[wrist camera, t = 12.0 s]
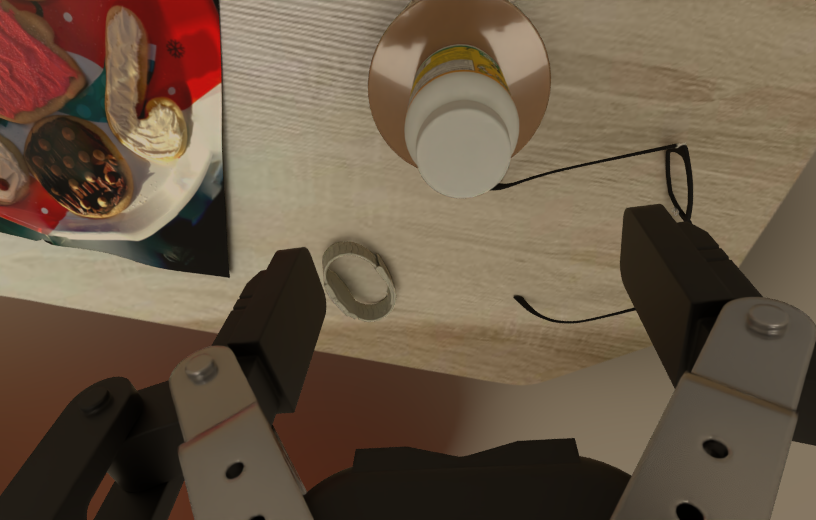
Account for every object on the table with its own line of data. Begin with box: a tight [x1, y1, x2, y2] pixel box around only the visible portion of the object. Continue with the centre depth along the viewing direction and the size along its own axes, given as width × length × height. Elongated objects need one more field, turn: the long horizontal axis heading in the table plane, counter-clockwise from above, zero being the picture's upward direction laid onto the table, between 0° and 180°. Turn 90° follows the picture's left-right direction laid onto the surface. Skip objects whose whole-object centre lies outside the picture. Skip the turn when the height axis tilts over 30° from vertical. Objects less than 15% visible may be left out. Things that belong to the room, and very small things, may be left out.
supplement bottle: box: [404, 44, 519, 198], centre depth 24 cm, size 5×5×10 cm
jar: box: [368, 0, 551, 168], centre depth 32 cm, size 11×11×11 cm
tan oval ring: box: [322, 242, 396, 322], centre depth 47 cm, size 9×6×5 cm
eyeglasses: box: [489, 143, 693, 323], centre depth 43 cm, size 16×16×4 cm
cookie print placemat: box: [0, 0, 230, 278], centre depth 39 cm, size 35×35×2 cm
